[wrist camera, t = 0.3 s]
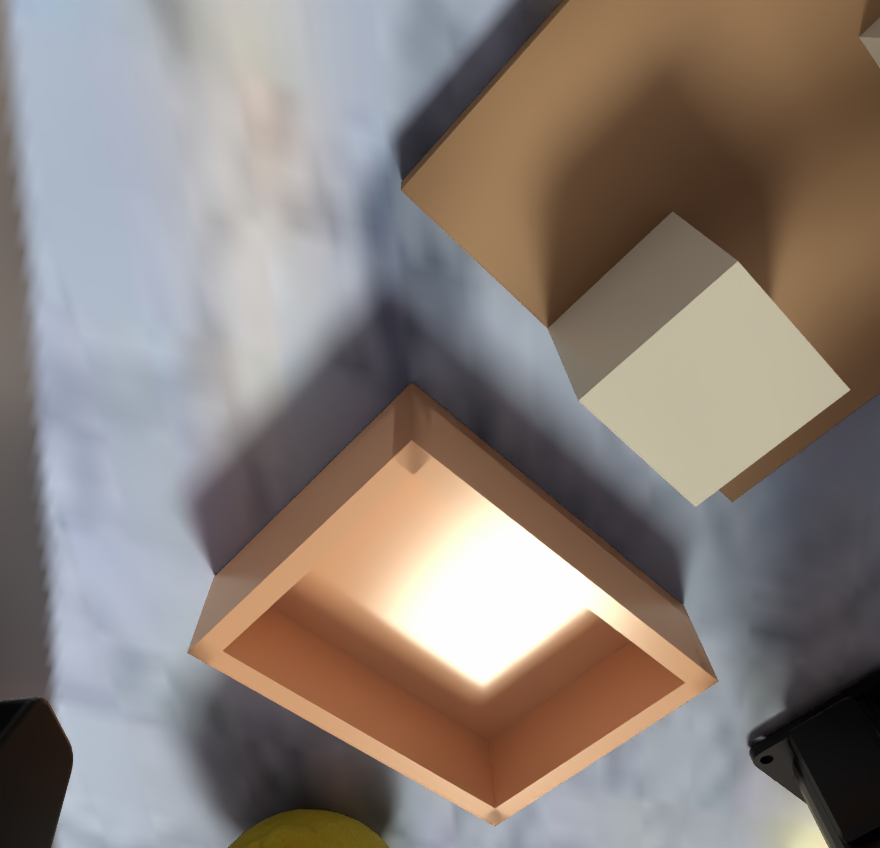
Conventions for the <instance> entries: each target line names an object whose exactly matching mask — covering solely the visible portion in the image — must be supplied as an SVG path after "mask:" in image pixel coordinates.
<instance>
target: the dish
mask: <svg viewBox="0 0 880 848" xmlns="http://www.w3.org/2000/svg"><path fill="white" fill-rule="evenodd" d="M187 653H189V654H190V655H192V656H194V657H196V658H197V659H199V660H201V661H203V662H205V663H206V664H208V665H210V666H212V667H213V668H215V669H217V670H219V671H221V672H222V673H224V674H226V675H228V676H229V677H231V678H233V679H235V680H236V681H238V682H240V683H242V684H244V685H245V686H247V687H249V688H251V689H252V690H254V691H256V692H258V693H259V694H261V695H263V696H265V697H267V698H268V699H270V700H272V701H274V702H275V703H277V704H279V705H281V706H282V707H284V708H286V709H288V710H290V711H291V712H293V713H295V714H297V715H298V716H300V717H302V718H304V719H305V720H307V721H309V722H311V723H313V724H314V725H316V726H318V727H320V728H321V729H323V730H325V731H327V732H329V733H330V734H332V735H334V736H336V737H337V738H339V739H341V740H343V741H344V742H346V743H348V744H350V745H352V746H353V747H355V748H357V749H359V750H360V751H362V752H364V753H366V754H367V755H369V756H371V757H373V758H375V759H376V760H378V761H380V762H382V763H383V764H385V765H387V766H389V767H390V768H392V769H394V770H396V771H398V772H399V773H401V774H403V775H405V776H406V777H408V778H410V779H412V780H414V781H415V782H417V783H419V784H421V785H422V786H424V787H426V788H428V789H429V790H431V791H433V792H435V793H437V794H438V795H440V796H442V797H444V798H445V799H447V800H449V801H451V802H452V803H454V804H456V805H458V806H460V807H461V808H463V809H465V810H467V811H468V812H470V813H472V814H474V815H475V816H477V817H479V818H481V819H483V820H484V821H486V822H488V823H490V824H491V825H493V826H496V825H498V824H499V823H501V822H502V821H504V820H505V819H507V818H509V817H510V816H512V815H513V814H515V813H516V812H518V811H519V810H521V809H522V808H524V807H525V806H527V805H529V804H530V803H532V802H533V801H535V800H536V799H538V798H539V797H541V796H542V795H544V794H546V793H547V792H549V791H550V790H552V789H553V788H555V787H556V786H558V785H559V784H561V783H562V782H564V781H566V780H567V779H569V778H570V777H572V776H573V775H575V774H576V773H578V772H579V771H581V770H583V769H584V768H586V767H587V766H589V765H590V764H592V763H593V762H595V761H596V760H598V759H599V758H601V757H603V756H604V755H606V754H607V753H609V752H610V751H612V750H613V749H615V748H616V747H618V746H620V745H621V744H623V743H624V742H626V741H627V740H629V739H630V738H632V737H633V736H635V735H636V734H638V733H640V732H641V731H643V730H644V729H646V728H647V727H649V726H650V725H652V724H653V723H655V722H657V721H658V720H660V719H661V718H663V717H664V716H666V715H667V714H669V713H670V712H672V711H673V710H675V709H677V708H678V707H680V706H681V705H683V704H684V703H686V702H687V701H689V700H690V699H692V698H694V697H695V696H697V695H698V694H700V693H701V692H703V691H704V690H706V689H707V688H709V687H711V686H712V685H714V684H715V683H717V682H718V679H717V677H716V675H715V673H714V670H713V668H712V666H711V664H710V662H709V659H708V657H707V655H706V653H705V651H704V649H703V646H702V644H701V642H700V640H699V638H698V635H697V633H696V631H695V629H694V627H693V624H692V622H691V620H690V618H689V616H688V614H687V611H686V609H685V607H684V606H683V605H682V604H681V603H680V602H679V601H677V600H676V599H675V598H674V597H672V596H671V595H670V594H669V593H668V592H666V591H665V590H664V589H663V588H662V587H660V586H659V585H658V584H657V583H655V582H654V581H653V580H652V579H651V578H649V577H648V576H647V575H646V574H645V573H643V572H642V571H641V570H640V569H638V568H637V567H636V566H635V565H634V564H632V563H631V562H630V561H629V560H628V559H626V558H625V557H624V556H623V555H621V554H620V553H619V552H618V551H617V550H615V549H614V548H613V547H612V546H611V545H609V544H608V543H607V542H606V541H604V540H603V539H602V538H601V537H600V536H598V535H597V534H596V533H595V532H594V531H592V530H591V529H590V528H589V527H587V526H586V525H585V524H584V523H583V522H581V521H580V520H579V519H578V518H577V517H575V516H574V515H573V514H572V513H571V512H569V511H568V510H567V509H566V508H564V507H563V506H562V505H561V504H560V503H558V502H557V501H556V500H555V499H554V498H552V497H551V496H550V495H549V494H547V493H546V492H545V491H544V490H543V489H541V488H540V487H539V486H538V485H537V484H535V483H534V482H533V481H532V480H530V479H529V478H528V477H527V476H526V475H524V474H523V473H522V472H521V471H520V470H518V469H517V468H516V467H515V466H513V465H512V464H511V463H510V462H509V461H507V460H506V459H505V458H504V457H503V456H501V455H500V454H499V453H498V452H496V451H495V450H494V449H493V448H492V447H490V446H489V445H488V444H487V443H486V442H484V441H483V440H482V439H481V438H479V437H478V436H477V435H476V434H475V433H473V432H472V431H471V430H470V429H469V428H467V427H466V426H465V425H464V424H462V423H461V422H460V421H459V420H458V419H456V418H455V417H454V416H453V415H452V414H450V413H449V412H448V411H447V410H445V409H444V408H443V407H442V406H441V405H439V404H438V403H437V402H436V401H435V400H433V399H432V398H431V397H430V396H428V395H427V394H426V393H425V392H424V391H422V390H421V389H420V388H419V387H418V386H416V385H415V384H414V383H413V382H411V383H410V384H409V385H408V386H407V387H406V388H405V389H404V390H403V391H402V392H401V393H400V394H399V395H398V396H397V397H396V398H395V399H394V400H393V401H392V402H391V403H390V404H389V405H388V406H387V407H386V408H385V409H384V410H383V411H382V412H381V413H380V414H379V415H378V416H377V417H376V418H375V419H374V420H373V421H372V422H371V423H370V424H369V425H368V426H367V427H366V428H365V429H364V430H363V431H362V432H361V433H360V434H359V435H358V436H357V437H356V438H354V439H353V440H352V441H351V442H350V443H349V444H348V445H347V446H346V447H345V448H344V449H343V450H342V451H341V452H340V453H339V454H338V455H337V456H336V457H335V458H334V459H333V460H332V461H331V462H330V463H329V464H328V465H327V466H326V467H325V468H324V469H323V470H322V471H321V472H320V473H319V474H318V475H317V476H316V477H315V478H314V479H313V480H312V481H311V482H310V483H309V484H308V485H307V486H306V487H305V488H304V489H303V490H302V491H301V492H300V493H299V494H298V495H297V496H296V497H295V498H294V499H293V500H292V501H291V502H290V503H289V504H288V505H287V506H286V507H285V508H284V509H283V510H281V511H280V512H279V513H278V514H277V515H276V516H275V517H274V518H273V519H272V520H271V521H270V522H269V523H268V524H267V525H266V526H265V527H264V528H263V529H262V530H261V531H260V532H259V533H258V534H257V535H256V536H255V537H254V538H253V539H252V540H251V541H250V542H249V543H248V544H247V545H246V546H245V547H244V548H243V549H242V550H241V551H240V552H239V553H238V554H237V555H236V556H235V557H234V558H233V559H232V560H231V561H230V562H229V563H228V564H227V565H226V566H225V567H224V568H223V569H222V570H221V571H220V572H219V573H218V574H217V575H216V576H215V577H214V579H213V582H212V584H211V587H210V590H209V593H208V596H207V598H206V601H205V604H204V607H203V610H202V612H201V615H200V618H199V621H198V624H197V626H196V629H195V632H194V635H193V638H192V641H191V643H190V646H189V649H188V652H187Z"/></svg>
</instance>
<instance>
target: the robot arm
mask: <svg viewBox="0 0 880 848" xmlns="http://www.w3.org/2000/svg"><path fill="white" fill-rule="evenodd" d="M749 754H750V756H751V759H752V761H753V763H754V765H755V766H756V767H758V768H759V769H760V770H762V771H763V772H764V773H766V774H767V775H768V776H770V777H771V778H772V779H774V780H775V781H777V782H778V783H779V784H781V785H782V786H783V787H785V788H786V789H787V790H789V791H790V792H791V793H793V794H794V795H795V796H797V797H798V798H800V799H801V800H802V801H804V802H805V803H806V804H807V805H808V807H809V809H810V811H811V813H812V815H813V817H814V819H815V821H816V823H817V825H818V827H819V829H820V831H821V833H822V835H823V837H824V839H825V841H826V843H827V845H828V847H829V848H880V670H879V671H877V672H875V673H874V674H872V675H870V676H869V677H867V678H865V679H864V680H862V681H860V682H859V683H857V684H855V685H854V686H852V687H850V688H849V689H847V690H845V691H844V692H842V693H840V694H839V695H837V696H835V697H834V698H832V699H830V700H829V701H827V702H825V703H824V704H822V705H820V706H819V707H817V708H815V709H814V710H812V711H810V712H809V713H807V714H805V715H804V716H802V717H800V718H799V719H797V720H795V721H794V722H792V723H790V724H789V725H787V726H785V727H784V728H782V729H780V730H779V731H777V732H775V733H774V734H772V735H770V736H769V737H767V738H765V739H764V740H762V741H760V742H759V743H757V744H755V745H754V746H753V747H752V748H751V749H750V751H749ZM72 765H73V752H72V747H71V744H70V742H69V740H68V738H67V736H66V734H65V732H64V730H63V729H62V727H61V725H60V723H59V721H58V719H57V717H56V715H55V713H54V711H53V709H52V707H51V706H50V704H49V703H48V701H47V700H45V699H44V698H42V697H38V696H33V697H23V698H13V699H7V700H3V701H1V702H0V848H51V846H52V843H53V839H54V835H55V831H56V828H57V824H58V820H59V816H60V813H61V809H62V805H63V801H64V798H65V794H66V790H67V786H68V783H69V779H70V775H71V771H72Z"/></svg>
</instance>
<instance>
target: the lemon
mask: <svg viewBox="0 0 880 848" xmlns="http://www.w3.org/2000/svg"><path fill="white" fill-rule="evenodd" d="M228 848H388V846H387V845H386V844H385V842H384V841H383V840H382V839H381V838H380V837H379V836H378V835H377V834H376V833H375V832H374V831H372V830H371V829H370V828H368V827H367V826H366V825H364V824H363V823H362V822H360V821H357V820H355V819H353V818H350V817H348V816H345V815H343V814H340V813H337V812H331V811H325V810H315V809H296V810H291V811H287V812H282V813H278V814H276V815H274V816H272V817H269V818H267V819H265V820H263V821H261V822H259V823H258V824H256V825H255V826H253V827H252V828H250V829H248V830H247V831H245V832H244V833H243V834H242V835H241V836H240V837H239V838H238V839H237V840H236V841H234V842H233V843H232V844H231V845H230V846H229V847H228Z"/></svg>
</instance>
